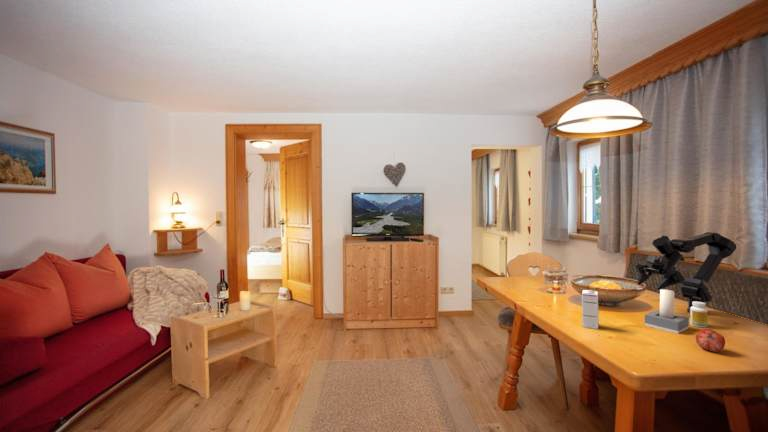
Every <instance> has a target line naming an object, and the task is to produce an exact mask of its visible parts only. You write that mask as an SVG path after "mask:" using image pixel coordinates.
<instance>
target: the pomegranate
mask: <svg viewBox="0 0 768 432" xmlns="http://www.w3.org/2000/svg"><path fill="white" fill-rule="evenodd" d="M695 341H696V343H697V345H698V346H699V347H700V348H702V350H705V351H710V352H715V353H718V352H721V351H723V350H724V348H725V345H726V339H725V337H724V336H723V335H722V334H721V333H719V332H717V331H715V330H714V329H711V328H706V329H705V328H703V329H702V330H700V331H697V333H696V334H695Z"/></svg>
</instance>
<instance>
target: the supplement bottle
mask: <svg viewBox="0 0 768 432" xmlns="http://www.w3.org/2000/svg"><path fill="white" fill-rule="evenodd" d="M692 305H693V306H692V307H690V312H689V325H691V326H693V327H696V328H703V329H705V328H708V316H709V315H708V314H709V313H708V309H707V308H706V302H705V303H703V302H698V301H693V302H692Z"/></svg>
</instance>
